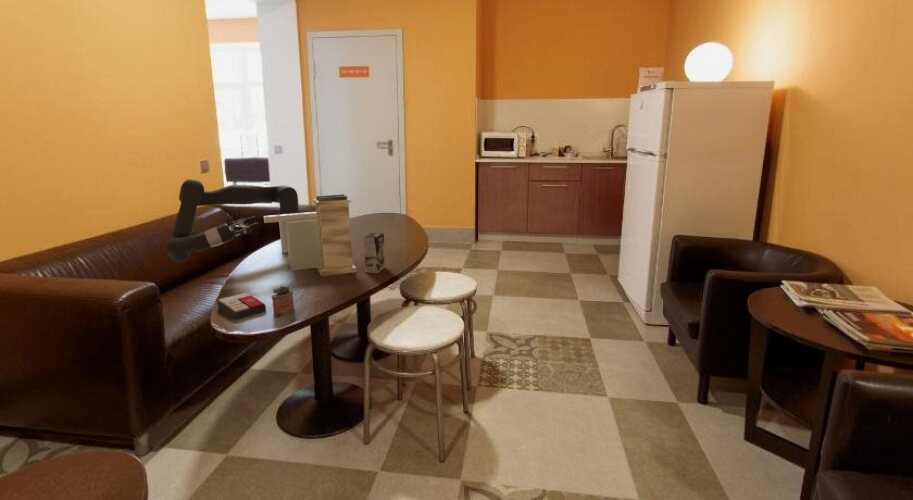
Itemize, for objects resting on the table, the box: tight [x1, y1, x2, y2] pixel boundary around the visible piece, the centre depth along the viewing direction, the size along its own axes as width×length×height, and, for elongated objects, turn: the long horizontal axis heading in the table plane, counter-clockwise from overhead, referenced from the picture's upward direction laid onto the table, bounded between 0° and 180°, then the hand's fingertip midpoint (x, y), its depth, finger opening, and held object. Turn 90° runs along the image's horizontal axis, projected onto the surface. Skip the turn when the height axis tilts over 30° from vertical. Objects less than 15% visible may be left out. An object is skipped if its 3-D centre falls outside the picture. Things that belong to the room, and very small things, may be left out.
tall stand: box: [312, 193, 357, 277], centre depth 218 cm, size 11×15×34 cm
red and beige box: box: [216, 292, 267, 321], centre depth 178 cm, size 11×4×15 cm
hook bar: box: [263, 203, 317, 224], centre depth 222 cm, size 3×24×6 cm, turn 115°
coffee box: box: [363, 232, 386, 274], centre depth 221 cm, size 9×6×16 cm
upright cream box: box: [285, 218, 321, 272], centre depth 228 cm, size 10×16×22 cm, turn 115°
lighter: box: [271, 284, 296, 319], centre depth 173 cm, size 8×3×10 cm, turn 145°
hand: (257, 221), depth 215 cm, fingers open, 8 cm apart
